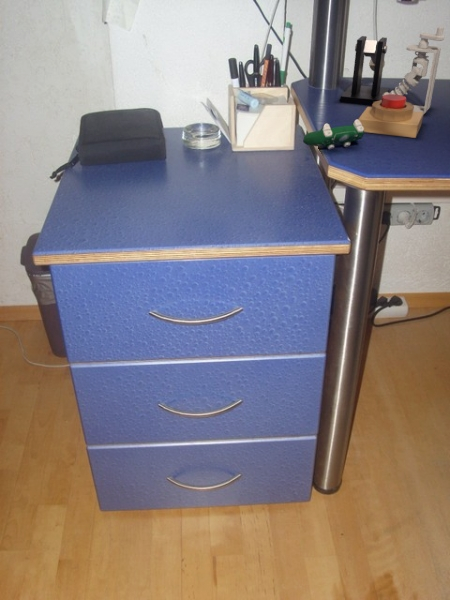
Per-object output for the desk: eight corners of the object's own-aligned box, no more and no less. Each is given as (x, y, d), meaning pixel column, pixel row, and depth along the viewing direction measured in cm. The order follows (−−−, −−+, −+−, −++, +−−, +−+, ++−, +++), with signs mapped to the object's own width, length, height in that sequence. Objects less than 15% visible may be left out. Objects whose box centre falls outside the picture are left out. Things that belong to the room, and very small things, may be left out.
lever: (368, 72, 129) (371, 57, 128) (383, 73, 128) (386, 58, 127) (360, 54, 116) (363, 37, 115) (376, 55, 115) (380, 38, 114)
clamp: (384, 103, 118) (396, 21, 110) (433, 109, 115) (449, 24, 106) (378, 108, 115) (390, 24, 107) (428, 115, 112) (444, 28, 103)
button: (406, 105, 104) (407, 95, 103) (402, 111, 101) (404, 101, 100) (383, 103, 105) (384, 93, 105) (379, 109, 102) (380, 99, 101)
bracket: (350, 90, 127) (357, 33, 121) (388, 93, 124) (397, 35, 118) (340, 102, 119) (346, 41, 113) (380, 106, 117) (388, 44, 110)
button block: (421, 124, 107) (425, 102, 105) (415, 138, 101) (419, 114, 98) (366, 118, 110) (368, 96, 108) (356, 131, 104) (359, 108, 102)
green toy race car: (307, 159, 98) (321, 142, 92) (300, 138, 98) (314, 119, 92) (356, 151, 100) (373, 134, 94) (349, 131, 101) (366, 112, 95)
